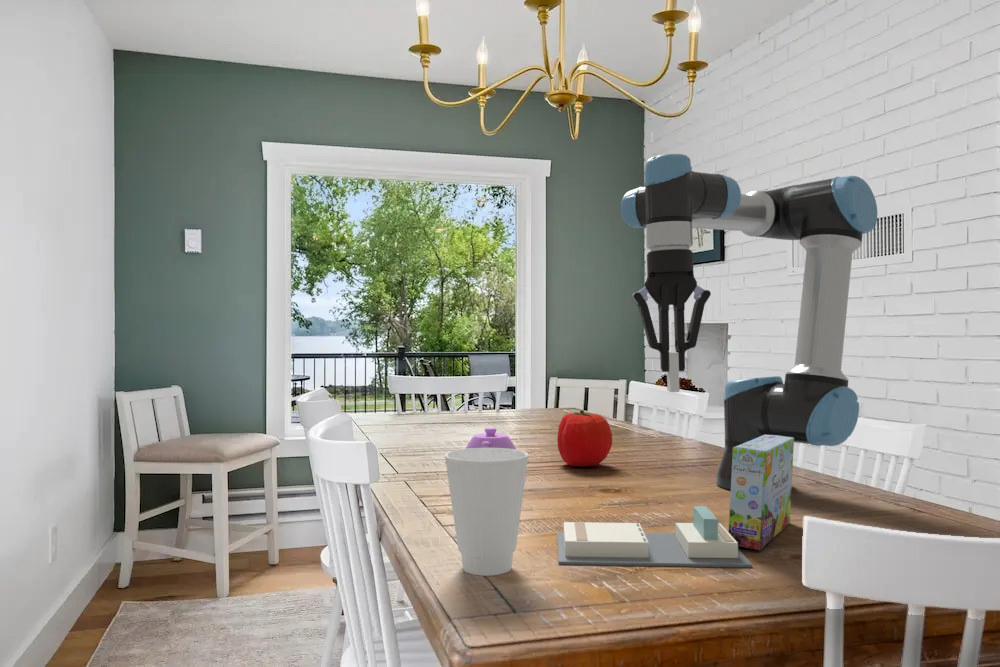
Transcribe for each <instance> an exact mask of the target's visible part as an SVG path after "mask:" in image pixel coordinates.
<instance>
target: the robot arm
mask: <svg viewBox="0 0 1000 667" xmlns="http://www.w3.org/2000/svg"><path fill="white" fill-rule="evenodd" d="M691 164H692V163H691V159H690V157H689V156H687V155H686V154H682V153H667V154H666V153H665V154H660V155H655V156H652V157H650V158H649V159H647V161H646V162H645V166H644V167H645V168H644V182H643V186H639V187H637V188H634V189H631V190H629V191H627V192H626V193H625V194H624V195H623V197H622V199H621V202H620V214H621V217H622V219H623V221H624V223H625V224H626V225H628V226H629V227H630V228H633V229H640V228H642V229H645V230H646V235H645V236H646V237H645V238H646V248H647V250H650V251H648V252H647V253H646V271H647V272H646V273H647V275H646V277H647V278H646V279H645V282H644V287H642V288H641V289H639V290H638V291H637V292H634V293H632V295H631V298H632V301H634V303H635V304H636V306H637V307H638V310H639V311H638V312H639V314H640V318H641V322H642V325H643V329H644V332H645V337H646V340H647V345H648V346H649V348H650V349H653V350H655V351H657V352H659V355H660V356H659V357H660V358H659V360H660V370H661V371H662V372H666V382H667V384H666V385H667V386H666V387H667V388H666V389H667V391H668V392H669V393H679V392H680V372H684V371H685V369H686V362H685V361H686V351H688V350H690V349H692V348H693V349H694V348H695V347H696V346H697V341H698V338H699V337H698V336H699V332H700V327H701V323H702V319H703V314H704V309H705V305H706V303H707V302H708V299H709V298H710V297H711V295H712V294H711V293H712V292H711V291H710V290H708V289H704V288H702V287H700V286H699V285H698V282H697V280H696V278H695V276H694V274H695V273H694V252H693V251H692V249H690V248H691V247H693V246H694V245H693V244H694V242H693V241H694V240H693V229H702V230H703V229H704V230H706V229H707V230H717V231H718V230H720V231H721V230H722V231H734V232H735V231H738V232H741V233H743V234H745V235H746V236H747V237H748V236H749V237H754V238H755V237H757V238H767V239H775V240H783V241H784V240H785V241H799V244H800V246H801V247H802V248H804V250H805V260H804V262H805V263H804V272H803V282H802V290H801V291H802V292H801V301H800V312H799V320H798V330H797V337H796V338H797V339H796V348H795V358H794V365H793V367H791V368H790V369H789V370H787V371H786V372H785V376H784V381H783V379H782V377H781V376H780V375H779V376H777V375H776V376H763V377H762V376H761V377H750V378H741V379H733V380H729V381H728V382H727V383H726V384H725V386H724V397H723V404H724V405H723V410H724V411H723V412H724V449H723V450H724V451H723V453H722V456H721V460H720V462H719V466H718V468H717V471H716V475H715V476H716V485H717V486H718V487H720V488H723V489H727V490H730V491H731V476H732V455H733V447H736V446H738V445H741V444H743V443H746V442H748V441H751V440H753V439H755V438H758V437H760V436H763V435H778V436H785V437H793V438H794V443H798V444H804V445H805V444H807V445H811V446H815V447H821V446H825V447H827V446H828V447H836V446H839V445H842V444H843V443H845V442H846V441H847V440H848V438H849V437H850V436H852V434H853V432H854V431H855V428H856V426H857V423H858V419H859V415H860V403H859V402H858V399H859V398H858V395H857V393H856V392H855V391H854V389H852V388H851V387H849V379H848V377H847V376H846V375H845V374H844V373H843V370H842V362H843V353H844V352H843V351H844V342H845V335H846V334H845V333H846V322H847V313H848V301H849V290H850V281H851V272H852V263H853V262H852V261H853V254H854V252H855V251H856V250H858V249H860V248H861V246H862V244H863V236H864V235H863V234H868V233H870V232H871V231H873V230H874V228H875V226H876V225H877V222H878V205H877V201H876V198H875V194H874V193H873V191H872V188H871V187H870V186H869V183H867V182H866V180H864V179H863V178H862V177H859V176H857V175H846V176H835V177H832V178H827V179H822V180H817V181H810V182H806V183H801V184H794V185H790V186H785V187H781V188H776V189H770V190H763V191H762V190H753V191H750V192H748V193H746V194H743V193H742V191H741V188H740V186H739V183H738V182H737V181H736V180H735V179H734V178H732V177H730V176H727V175H723V174H720V173H716V174H715V173H707V172H698V171H693V167H692V165H691ZM693 293H694V294H693ZM648 294H649V296H650V297H651V298H652V299H653V301H654V302H655V303H656V305H657V310H658V337H657V335H656V331H655V328H654V323H653V320H652V316H651V313H650V309H649V306H648V303H647V301H648V299H649V297H648ZM692 294H693V298H694V300H695V301H694V302H693V303H694V304H693V307H692V308H693V309H692V312H691V318H690V322H689V325H688V326H689V327H688V329H687V330H688V332H687V335H686V332H685V331H686V330H685V329H686V328H685V325H686V324H685V306H686V305H685V304H686V303H687V301H688V300H689V298H690V297H691V295H692ZM671 305H672V309H673V318H674V321H673V322H674V326H673V327H674V350H675V351H670V318H669V313H670V312H669V311H670V306H671ZM657 338H659V342H658V339H657Z"/></svg>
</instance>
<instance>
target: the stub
mask: <svg viewBox="0 0 1000 667" xmlns="http://www.w3.org/2000/svg"><path fill="white" fill-rule="evenodd" d="M692 508H693V515H692V516H693V517H692V519H693V522H675V533H676V538H677V540H678V541H679V543H680V545H681V546H682V548H683V550H684V551H685V553H686V554H687V556H688V558H738V549H739V546H738V543H737V541H736V540H735V539H734V538H733V537H732V536H731V535H730V534H729V532H728V531H729V530H727V529H726V528H725V526H723V525H722V524H721V522H720V523H719V519H718V518H717V517H716V516H715V515H714V513H713V512H712V511H711V510H710V509H709V507H708V506H704V505H703V506H701V505H700V506H699V505H698V506H697V505H695V506H694V505H693V507H692Z"/></svg>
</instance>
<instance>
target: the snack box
mask: <svg viewBox="0 0 1000 667" xmlns="http://www.w3.org/2000/svg"><path fill="white" fill-rule="evenodd" d="M794 447H795V442H794V438H793V437H785V436H778V435H763V436H760V437H758V438H755V439H753V440H751V441H748V442H746V443H743V444H741V445H738V446H736V447H733V455H732V476H731V490H730V495H729V496H730V497H729V498H730V499H729V500H730V501H729V513H728V514H729V517H728V518H729V519H728V530H727V531H728V532H729V534H730V535H731V536H732V537H733V538H734V539H735V540H736V541H737V543H738V547H741V548H746V549H750V550H755V551H756V550H757V551H761V550H762V549H763V548H764V547H765V546H767V544H768V543H770V542H771V541H772V540H773V539H774V538H775V537H776V536H777V535H778V534H779V533H781V532H782V531H783V530H784V529H785V528H786V527H787V526H788V525H789V524H790V523H791V507H792V506H791V504H792V485H793V484H792V483H793V466H794V449H795V448H794Z"/></svg>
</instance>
